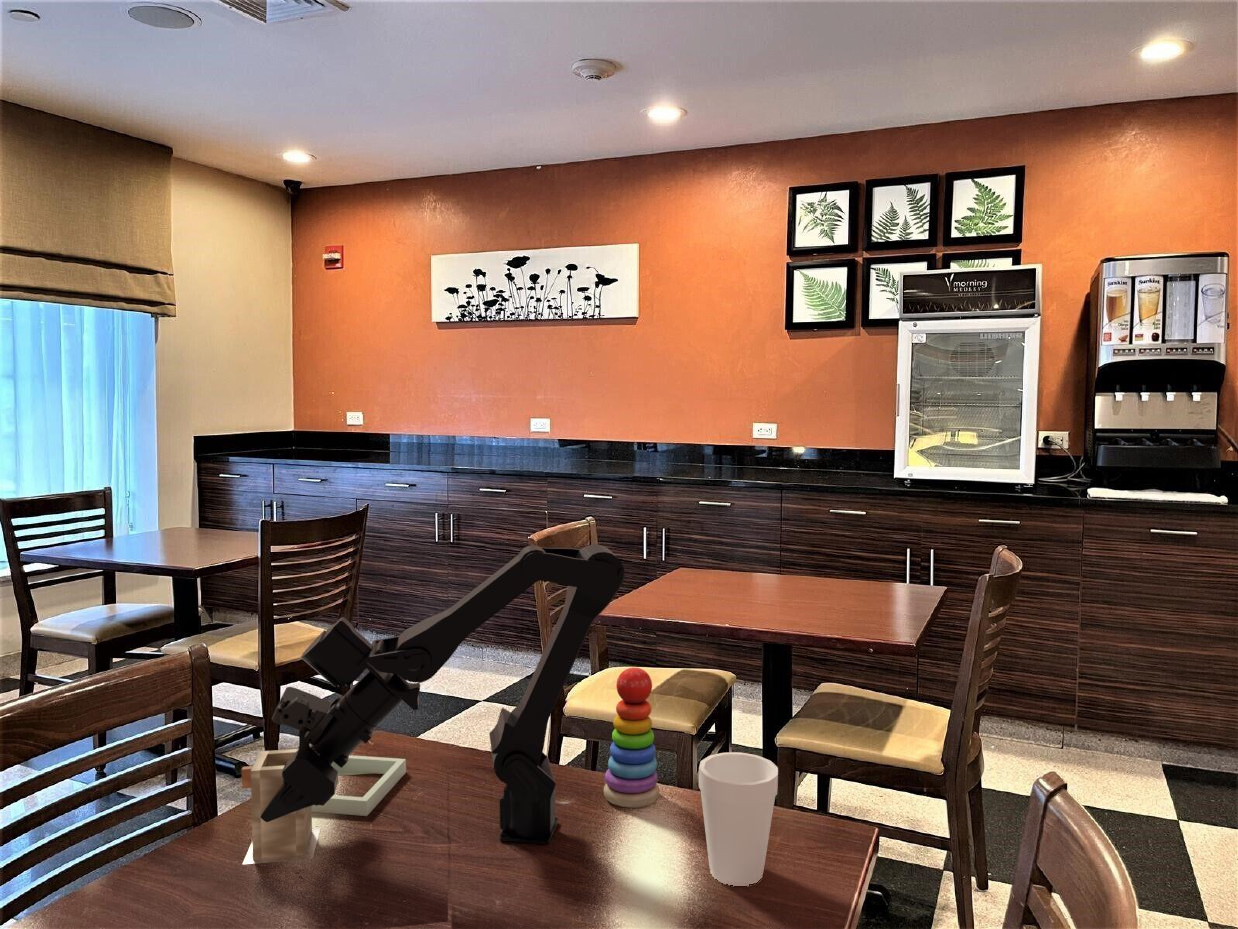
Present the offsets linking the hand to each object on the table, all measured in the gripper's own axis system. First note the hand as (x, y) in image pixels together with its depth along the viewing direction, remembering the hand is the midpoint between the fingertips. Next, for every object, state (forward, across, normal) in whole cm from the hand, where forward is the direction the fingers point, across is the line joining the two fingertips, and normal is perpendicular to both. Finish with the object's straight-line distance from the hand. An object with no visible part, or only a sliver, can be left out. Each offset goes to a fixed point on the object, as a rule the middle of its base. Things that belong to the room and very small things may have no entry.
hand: (270, 802), depth 111 cm
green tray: (-1, -15, +10) cm, 18 cm away
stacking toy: (-29, -8, +38) cm, 48 cm away
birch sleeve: (+3, 0, +5) cm, 6 cm away
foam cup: (-34, +14, +44) cm, 58 cm away
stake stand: (+4, 0, +6) cm, 7 cm away
